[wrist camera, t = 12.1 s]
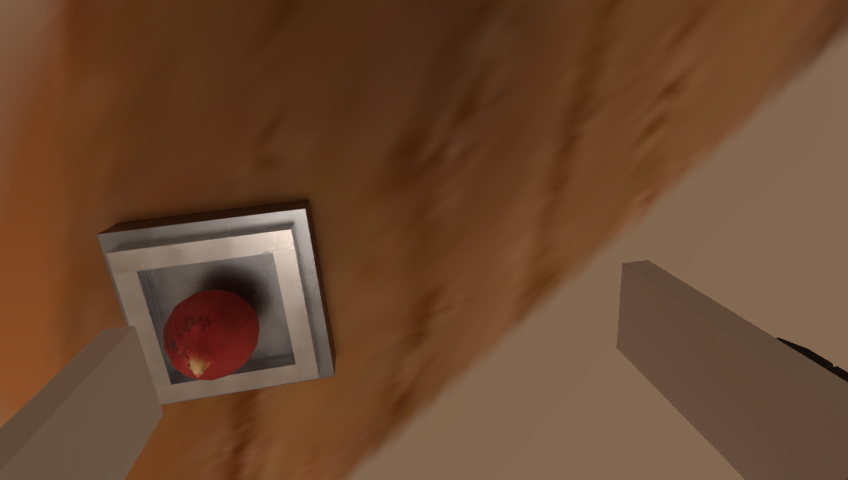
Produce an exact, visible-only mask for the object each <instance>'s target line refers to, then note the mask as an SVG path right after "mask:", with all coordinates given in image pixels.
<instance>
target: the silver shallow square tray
mask: <svg viewBox="0 0 848 480" xmlns="http://www.w3.org/2000/svg"><path fill="white" fill-rule="evenodd" d="M97 236H98V239H99V242H100V245H101V249H102V252H103V255H104V258H105V261H106V264H107V267H108V270H109V273H110V276H111V279H112V282H113V286H114V289H115V292H116V295H117V298H118V301H119V304H120V307H121V310H122V313H123V316H124V319H125V323H126V326H127V327H128V326H135V328H136V331H137V334H138V337H139V340H140V343H141V346H142V349H143V353H144V356H145V359H146V362H147V365H148V368H149V371H150V374H151V377H152V380H153V384H154V387H155V390H156V393H157V396H158V399H159V402H160V405H164V404H170V403H176V402H182V401H188V400H194V399H200V398H206V397H212V396H218V395H224V394H230V393H236V392H242V391H247V390H253V389H259V388H265V387H271V386H277V385H283V384H289V383H295V382H301V381H307V380H313V379H319V378H325V377H331V376H335V359H336V356H335V350H334V344H333V338H332V332H331V327H330V321H329V315H328V309H327V303H326V298H325V292H324V286H323V280H322V275H321V269H320V263H319V257H318V251H317V246H316V240H315V234H314V228H313V223H312V217H311V211H310V205H309V200H304V201H296V202H288V203H280V204H271V205H263V206H255V207H247V208H239V209H230V210H222V211H214V212H206V213H198V214H190V215H181V216H173V217H165V218H157V219H149V220H140V221H132V222H124V223H117V224H115V225H114V226H112V227H110V228H108V229H106V230H104V231H103V232H101V233H99V234H97ZM212 289H215V290H222V291H229V292H232V293H234V294H236V295H238V296H240V297H242V298H244V299H245V300H246V301H247V302H248V304H249V305H250V306H251V307H252V308H253V309H254V310H255V313H256V316H257V319H258V322H259V335H258V343H257V347H256V348H255V350H254V352H253V353H252V355H251V357H250V358H249V360H248V361H247V362H246V363H245V364H244V365H243V366H242V367H240V368H239V369H238V370H236V371H235V372H234V373H232V374H230V375H228V376H225V377H222V378H219V379H216V380H212V381H211V380H198V379H194V378H191V377H188V376H185V375H183V374H182V373H181V372H179V371H178V370H177V369H176V368H174V367H173V365H172V363H171V361H170V359H169V357H168V355H167V353H166V351H165V350H164V340H163V328H164V326H165V324H166V322H167V320H168V318H169V316H170V315H171V313H172V311H173V309H174V308H175V306H176V305H178V304H179V303H180V302H182V301H183V300H185V299H186V298H188V297H190V296H191V295H193V294H195V293H196V292H201V291H207V290H212Z"/></svg>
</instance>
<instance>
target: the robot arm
mask: <svg viewBox="0 0 848 480" xmlns="http://www.w3.org/2000/svg"><path fill="white" fill-rule="evenodd" d="M617 349H618V350H619V351H620V352H621V353H622V354H623V355H624V356H625V357H626V358H627V359H628V360H629V361H630V362H631V363H632V364H633V365H634V366H635V367H636V368H637V369H638V370H639V371H640V372H641V373H642V374H643V375H644V376H645V377H646V378H647V379H648V380H649V381H650V382H651V383H652V384H653V386H655V387H656V389H657V390H658V391H659V392H660V393H661V394H662V395H663V396H664V397H665V398H666V399H667V400H668V401H669V402H670V403H671V404H672V405H673V406H674V407H675V408H676V409H677V410H678V411H679V412H680V413H681V414H682V415H683V416H684V417H685V418H686V419H687V420H688V421H689V422H690V424H692V425H693V427H694V428H696V430H697V431H698V432H699V433H700V434H701V435H702V436H703V437H704V438H705V439H706V440H707V441H708V442H709V443H710V444H711V445H712V446H713V447H714V448H715V449H716V450H717V451H718V452H719V453H720V454H721V455H722V456H723V457H724V458H725V459H726V460H727V461H728V462H729V464H730V465H732V467H733V468H734V469H735V470H736V471H737V472H738V473H739V474H740V475H741V476H742V477H743V478H744V479H745V480H848V372H846V371H844V370H843V369H841V368H839V367H837V366H836V367H834V366H833V364H832V363H831V362H829V361H828V360H826V359H824V358H823V357H821V356H819V355H817V354H816V353H814V352H812V351H811V350H809V349H807V348H804V347H801V346H799V345H796V344H794V343H791V342H789V341H786V340H783V339H780V338H774V337H773V336H771V335H769V334H768V333H766V332H765V331H763V330H761V329H760V328H758V327H756V326H755V325H753V324H752V323H750V322H748V321H747V320H745V319H743V318H742V317H740V316H738V315H737V314H735V313H733V312H732V311H730V310H729V309H727V308H725V307H723V306H722V305H720V304H719V303H717V302H715V301H714V300H712V299H711V298H709V297H707V296H706V295H704V294H702V293H700V292H699V291H697V290H696V289H694V288H693V287H691V286H689V285H688V284H686V283H684V282H683V281H681V280H679V279H678V278H676V277H674V276H673V275H671V274H670V273H668V272H667V271H665V270H663V269H662V268H660V267H658V266H657V265H655V264H653V263H652V262H650V261H649V260H645V261H637V262H630V263H623V264H622V277H621V291H620V307H619V320H618V335H617ZM162 416H163V412H162V408H161V405H160V402H159V399H158V396H157V393H156V390H155V387H154V384H153V380H152V377H151V374H150V371H149V368H148V365H147V362H146V359H145V356H144V353H143V349H142V346H141V343H140V340H139V337H138V334H137V331H136V328H135V326H128V327H120V328H113V329H105V330H102V331H101V332H100V333H99V334H98V335H97V336H96V337H95V338H94V339H93V340H92V341H91V342H90V343H89V344H88V345H87V346H86V347H85V348H84V349H82V350H81V351H80V352H79V353H78V354H77V355H76V356H75V357H74V358H73V359H72V360H71V361H70V362H69V363H68V364H67V365H66V366H65V367H64V368H63V369H62V370H61V371H60V372H59V373H58V374H56V375H55V376H54V377H53V378H52V379H51V380H50V381H49V382H48V383H47V384H46V385H45V386H44V387H43V388H42V389H41V390H40V391H39V392H38V393H37V394H36V395H35V396H34V397H33V398H32V399H30V401H28V402H27V403H26V404H25V405H24V406H23V407H22V408H21V409H20V410H19V411H18V412H17V413H16V414H15V415H14V416H13V417H12V418H11V419H10V420H9V421H8V422H7V423H6V424H5V425H3V426H2V427H1V428H0V480H125V478H126V476H127V475H128V473H129V471H130V470H131V468H132V466H133V464H134V463H135V461H136V459H137V458H138V456H139V454H140V453H141V451H142V449H143V448H144V446H145V444H146V443H147V441H148V439H149V437H150V436H151V434H152V432H153V431H154V429H155V427H156V426H157V424H158V422H159V421H160V419H161V417H162Z"/></svg>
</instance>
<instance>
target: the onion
mask: <svg viewBox="0 0 848 480" xmlns="http://www.w3.org/2000/svg"><path fill="white" fill-rule="evenodd" d="M258 335H259V322H258V319H257V316H256V313H255V310H254V309H253V308H252V307H251V306H250V305H249V304H248V302H247V301H246V300H245V299H244V298H242V297H240V296H238V295H236V294H234V293H232V292H229V291H222V290H215V289H212V290H207V291H201V292H196V293H195V294H193V295H191V296H190V297H188V298H186V299H185V300H183V301H182V302H180V303H179V304H178V305H176V306H175V308H174V309H173V311H172V313H171V315H170V316H169V318H168V320H167V322H166V324H165V326H164V328H163V340H164V350H165V351H166V353H167V355H168V357H169V359H170V361H171V363H172V365H173V367H174V368H176V369H177V370H178V371H179V372H181V373H182V374H183V375H185V376H188V377H191V378H194V379H198V380H211V381H212V380H216V379H219V378H222V377H225V376H228V375H230V374H232V373H234V372H235V371H236V370H238V369H239V368H240V367H242V366H243V365H244V364H245V363H246V362H247V361H248V360H249V358H250V357H251V355H252V353H253V352H254V350H255V348H256V347H257V343H258Z"/></svg>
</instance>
